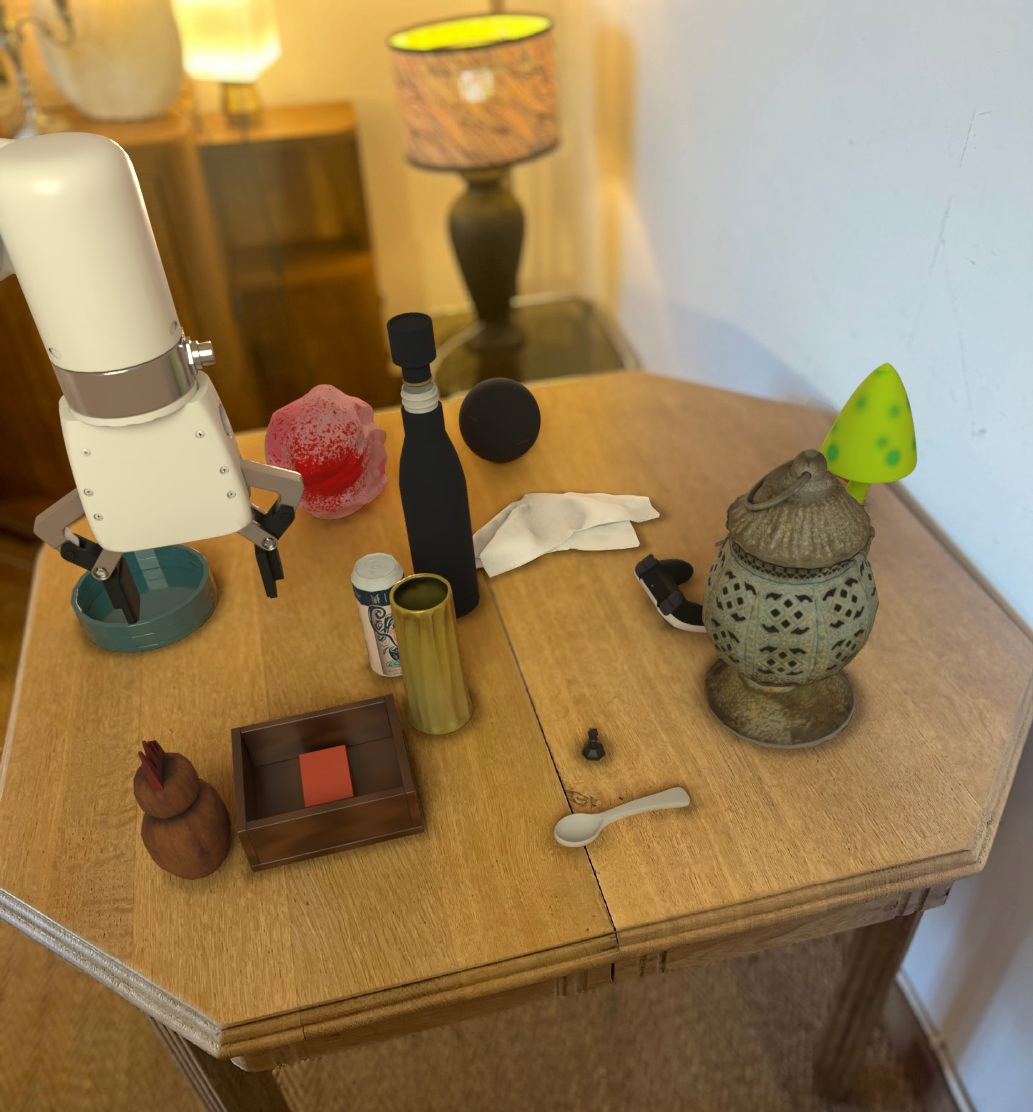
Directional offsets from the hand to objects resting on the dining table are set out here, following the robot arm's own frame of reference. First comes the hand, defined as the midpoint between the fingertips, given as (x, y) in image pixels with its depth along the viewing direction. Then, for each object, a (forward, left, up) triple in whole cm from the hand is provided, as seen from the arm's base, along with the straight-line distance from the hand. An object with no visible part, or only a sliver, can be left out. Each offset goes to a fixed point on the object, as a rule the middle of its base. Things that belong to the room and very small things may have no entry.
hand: (204, 599), depth 70 cm
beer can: (+13, +13, -22) cm, 29 cm away
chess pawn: (+28, -3, -22) cm, 36 cm away
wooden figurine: (-6, -5, -22) cm, 23 cm away
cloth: (+33, +30, -22) cm, 50 cm away
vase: (+16, +5, -22) cm, 28 cm away
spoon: (+28, -12, -22) cm, 37 cm away
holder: (+5, -2, -22) cm, 22 cm away
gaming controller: (+42, +12, -22) cm, 49 cm away
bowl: (-11, +30, -22) cm, 39 cm away
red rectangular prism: (+5, -2, -21) cm, 22 cm away
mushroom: (+58, +9, -22) cm, 62 cm away
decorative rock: (+11, +43, -22) cm, 50 cm away
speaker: (+32, +47, -22) cm, 61 cm away
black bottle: (+20, +21, -22) cm, 37 cm away
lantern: (+46, -2, -22) cm, 51 cm away
